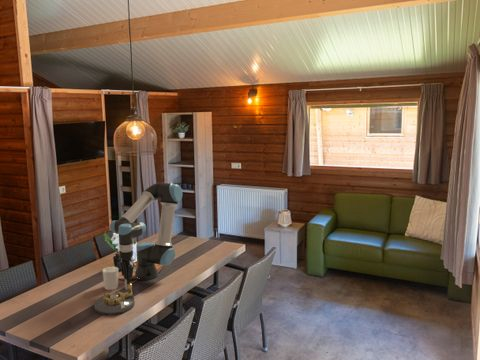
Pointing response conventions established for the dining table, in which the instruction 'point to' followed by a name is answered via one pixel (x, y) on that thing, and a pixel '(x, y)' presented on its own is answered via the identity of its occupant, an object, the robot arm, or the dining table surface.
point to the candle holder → (110, 278)
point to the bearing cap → (113, 306)
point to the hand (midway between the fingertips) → (127, 288)
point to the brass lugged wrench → (122, 296)
